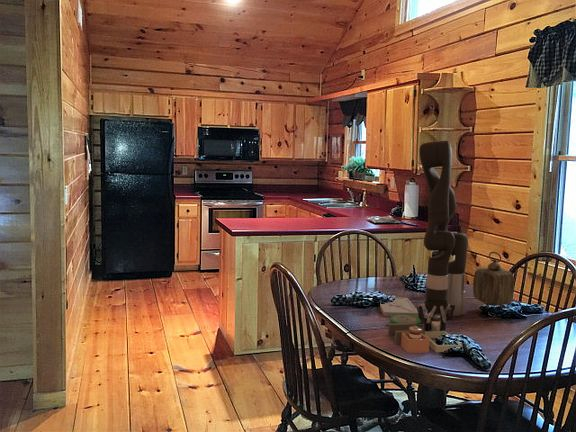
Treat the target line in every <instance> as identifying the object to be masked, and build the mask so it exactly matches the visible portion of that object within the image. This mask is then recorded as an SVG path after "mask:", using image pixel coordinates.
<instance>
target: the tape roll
mask: <svg viewBox="0 0 576 432" xmlns="http://www.w3.org/2000/svg"><path fill="white" fill-rule="evenodd" d="M393 323H416V324H417V326H418V327H420V328H421V320H420V319H419V317H414V316H410V315H396V316H392V317H390V321H389V324H393Z"/></svg>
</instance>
